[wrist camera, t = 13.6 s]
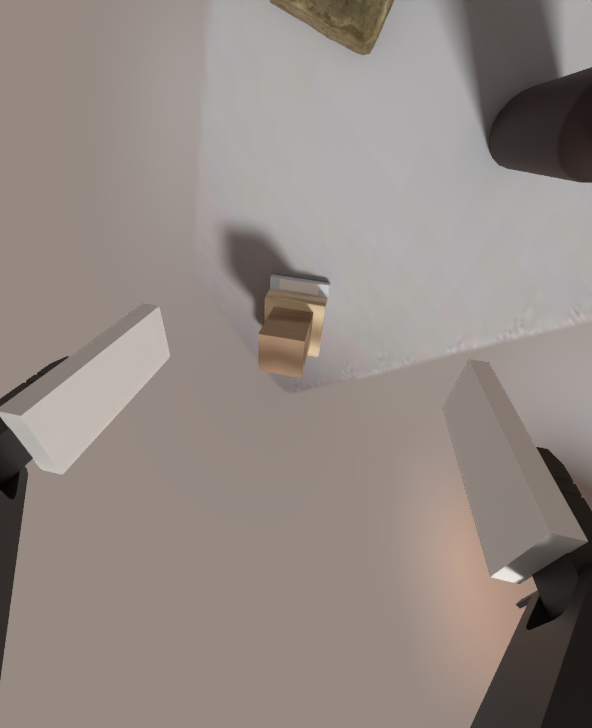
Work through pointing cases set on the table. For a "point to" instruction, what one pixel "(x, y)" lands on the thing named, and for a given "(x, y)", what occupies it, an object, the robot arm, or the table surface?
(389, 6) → the stone block
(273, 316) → the walnut block
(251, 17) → the table surface
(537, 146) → the bottle
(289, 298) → the oak plinth
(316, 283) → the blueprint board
